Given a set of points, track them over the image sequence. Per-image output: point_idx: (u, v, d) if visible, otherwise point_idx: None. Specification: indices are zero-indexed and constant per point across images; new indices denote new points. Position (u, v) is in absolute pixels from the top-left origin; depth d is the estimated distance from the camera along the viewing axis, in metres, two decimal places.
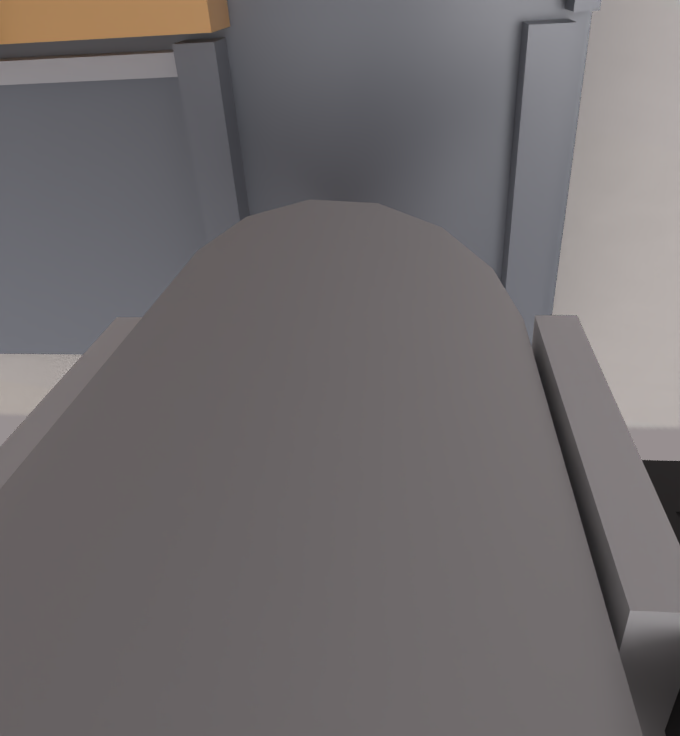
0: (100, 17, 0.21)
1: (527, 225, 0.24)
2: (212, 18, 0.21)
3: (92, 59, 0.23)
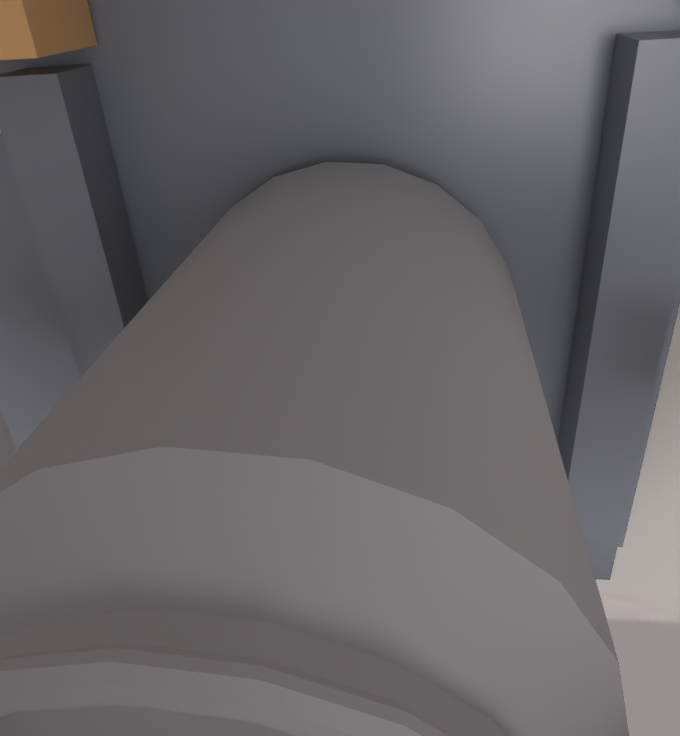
0: None
1: (613, 378, 0.14)
2: (40, 32, 0.11)
3: None
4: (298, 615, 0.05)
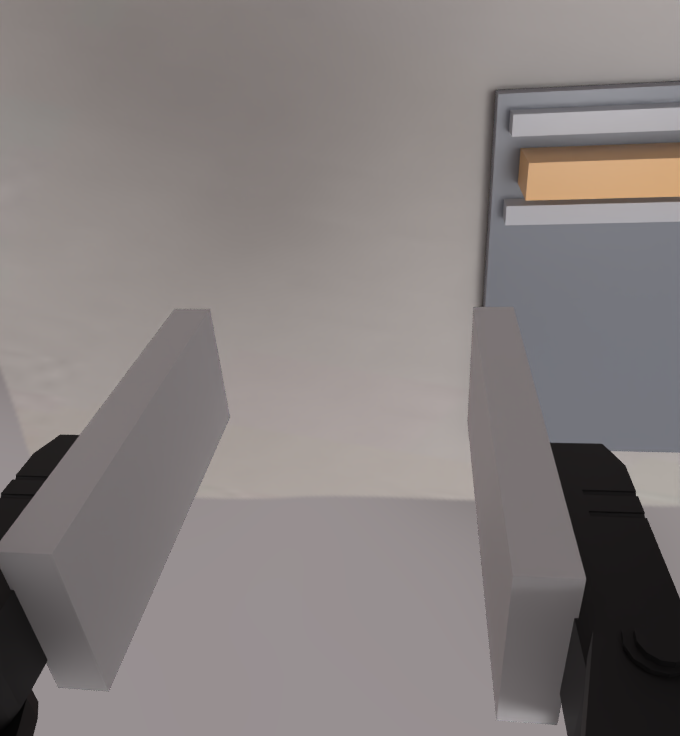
0: None
1: None
2: None
3: None
4: None
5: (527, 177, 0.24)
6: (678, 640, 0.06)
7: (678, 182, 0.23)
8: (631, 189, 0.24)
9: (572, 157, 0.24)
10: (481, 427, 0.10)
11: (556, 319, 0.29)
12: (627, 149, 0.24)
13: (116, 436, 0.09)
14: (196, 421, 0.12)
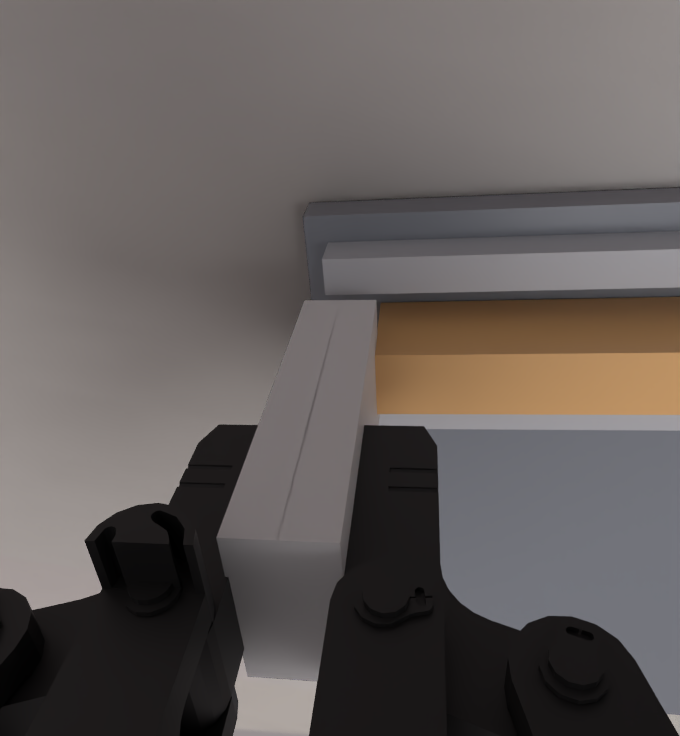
0: None
1: None
2: None
3: None
4: None
5: (376, 377, 0.13)
6: (398, 591, 0.07)
7: (656, 392, 0.12)
8: (568, 401, 0.13)
9: (458, 339, 0.13)
10: None
11: (448, 544, 0.18)
12: (563, 316, 0.13)
13: (296, 425, 0.09)
14: None
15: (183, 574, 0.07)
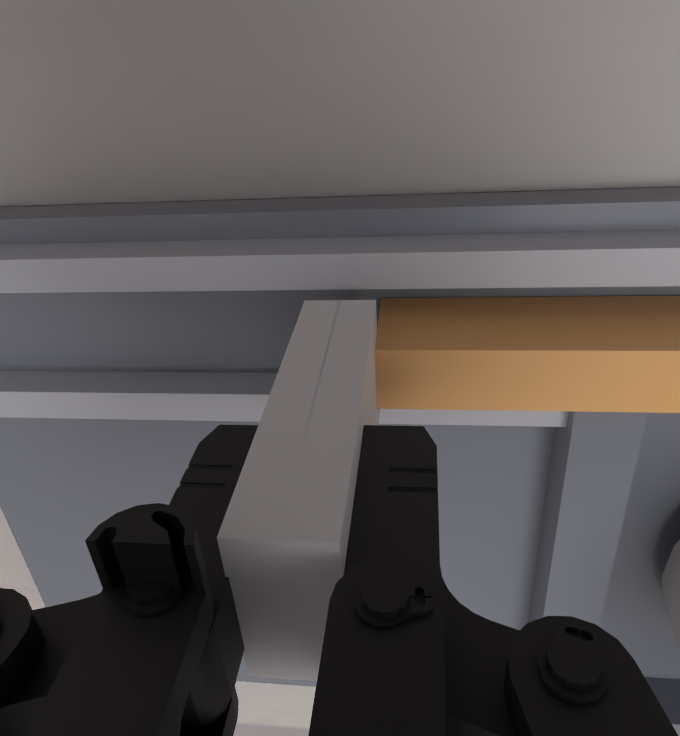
0: None
1: None
2: None
3: None
4: None
5: (375, 371, 0.13)
6: (397, 591, 0.07)
7: (654, 390, 0.12)
8: (566, 398, 0.13)
9: (458, 335, 0.13)
10: None
11: None
12: (563, 314, 0.13)
13: (297, 425, 0.09)
14: None
15: (183, 574, 0.07)
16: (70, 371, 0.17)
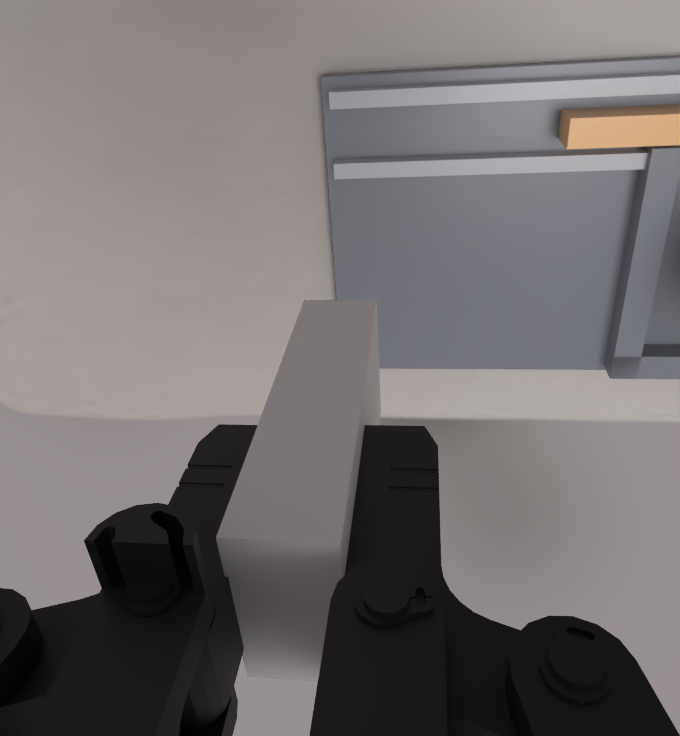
0: None
1: None
2: None
3: (579, 157, 0.32)
4: None
5: (569, 130, 0.30)
6: (398, 591, 0.07)
7: None
8: (651, 139, 0.30)
9: (604, 114, 0.30)
10: None
11: (388, 257, 0.37)
12: (647, 108, 0.31)
13: (296, 425, 0.09)
14: None
15: (183, 574, 0.07)
16: (396, 157, 0.34)
